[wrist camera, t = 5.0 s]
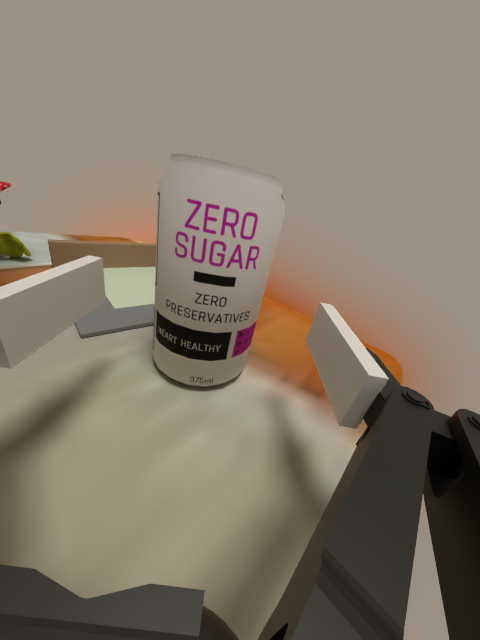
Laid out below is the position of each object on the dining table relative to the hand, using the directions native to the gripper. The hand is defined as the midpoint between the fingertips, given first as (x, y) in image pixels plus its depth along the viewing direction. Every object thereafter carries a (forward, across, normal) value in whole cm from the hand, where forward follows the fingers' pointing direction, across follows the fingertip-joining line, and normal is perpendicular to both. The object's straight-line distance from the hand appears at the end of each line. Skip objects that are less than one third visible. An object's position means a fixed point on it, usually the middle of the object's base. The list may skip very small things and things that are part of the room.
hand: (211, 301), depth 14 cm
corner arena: (+17, -10, -8) cm, 21 cm away
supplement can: (+4, 0, -8) cm, 9 cm away
